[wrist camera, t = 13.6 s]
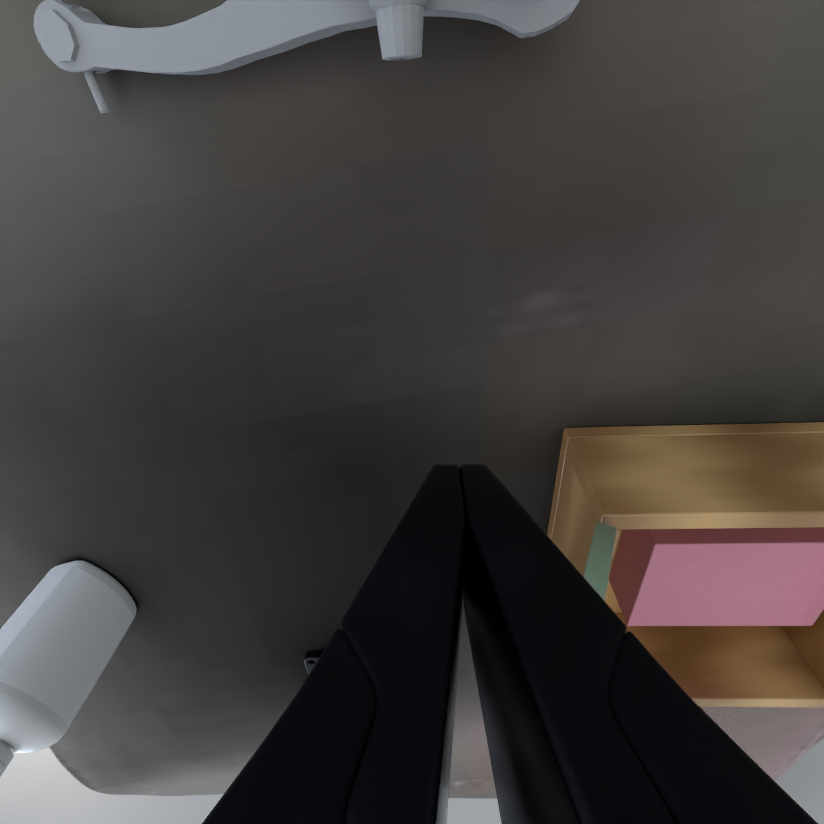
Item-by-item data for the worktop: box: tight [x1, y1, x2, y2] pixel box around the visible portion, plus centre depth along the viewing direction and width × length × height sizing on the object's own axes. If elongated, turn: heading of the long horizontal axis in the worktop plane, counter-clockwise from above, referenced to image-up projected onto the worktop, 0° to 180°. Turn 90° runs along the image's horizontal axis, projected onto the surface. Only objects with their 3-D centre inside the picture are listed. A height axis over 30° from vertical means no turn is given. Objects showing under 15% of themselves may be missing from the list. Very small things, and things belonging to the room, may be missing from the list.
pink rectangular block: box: [609, 527, 824, 626], centre depth 22 cm, size 6×9×3 cm, turn 93°
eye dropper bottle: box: [0, 560, 137, 776], centre depth 23 cm, size 4×6×12 cm
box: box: [547, 422, 824, 707], centre depth 22 cm, size 14×14×6 cm
